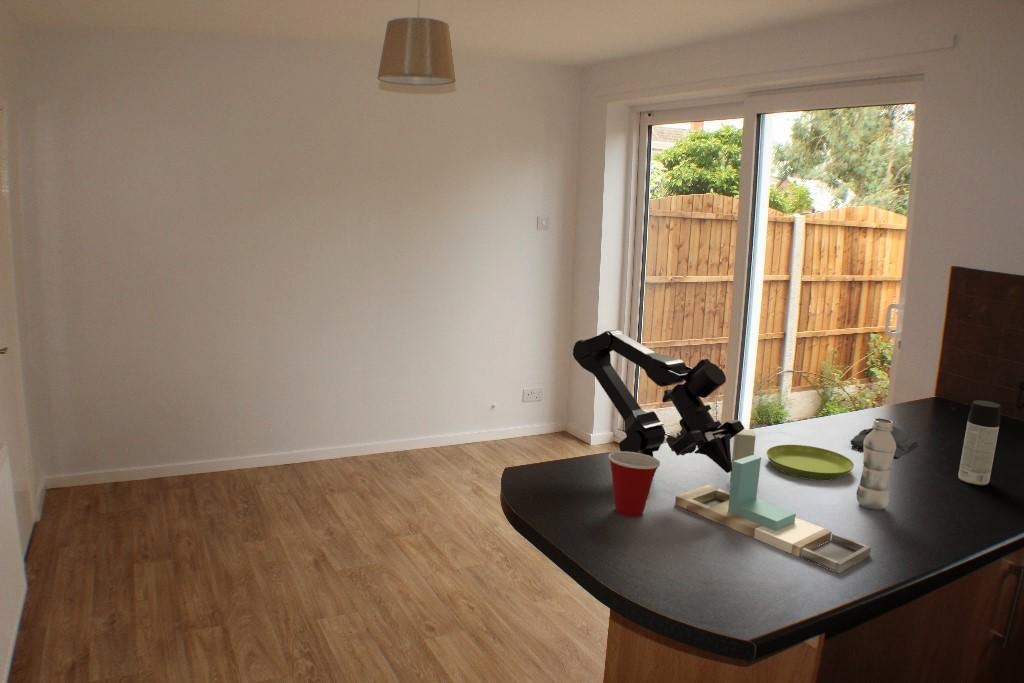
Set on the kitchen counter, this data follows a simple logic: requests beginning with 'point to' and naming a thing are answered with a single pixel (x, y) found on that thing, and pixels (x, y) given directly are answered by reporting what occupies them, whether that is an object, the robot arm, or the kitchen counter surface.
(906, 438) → the dark grey crumpled cloth
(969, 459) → the spray can
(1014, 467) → the kitchen counter surface
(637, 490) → the plastic cup
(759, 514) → the teal L-block
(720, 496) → the birch board
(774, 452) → the saucer
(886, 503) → the plastic bottle
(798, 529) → the cream pad
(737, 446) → the box
